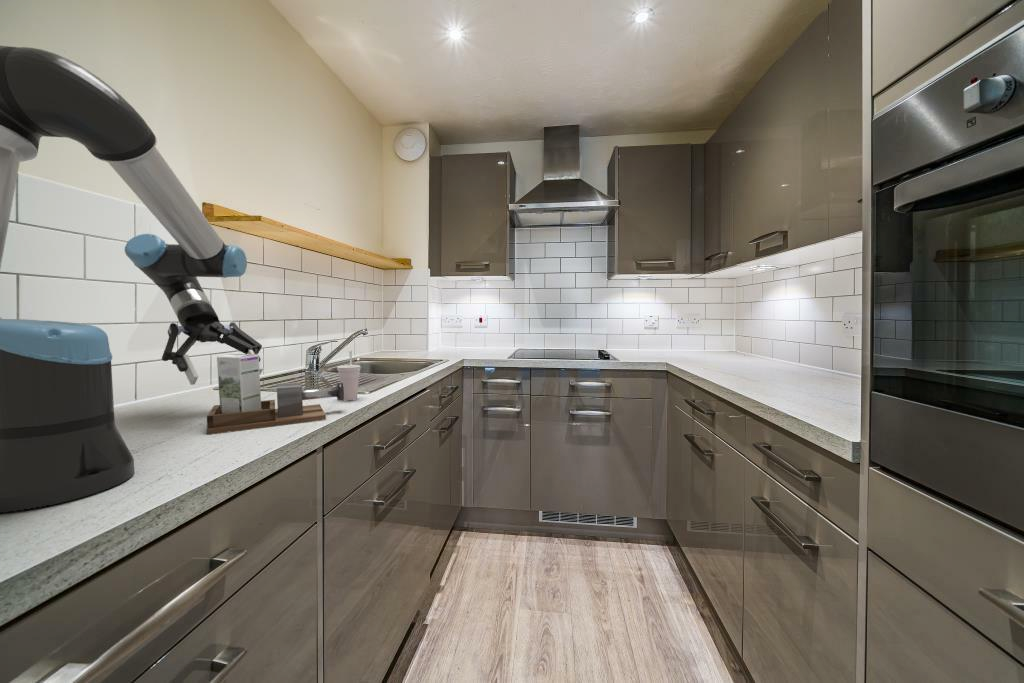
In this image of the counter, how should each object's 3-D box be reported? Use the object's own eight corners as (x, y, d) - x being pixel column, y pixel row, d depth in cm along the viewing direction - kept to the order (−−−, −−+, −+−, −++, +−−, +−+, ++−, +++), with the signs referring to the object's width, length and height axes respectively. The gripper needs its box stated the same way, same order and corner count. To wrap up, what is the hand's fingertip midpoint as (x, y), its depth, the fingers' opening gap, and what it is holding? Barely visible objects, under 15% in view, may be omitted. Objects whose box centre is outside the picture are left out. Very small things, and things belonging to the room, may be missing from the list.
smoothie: (357, 401, 111) (355, 352, 110) (334, 402, 111) (332, 352, 110) (365, 397, 117) (363, 350, 117) (343, 397, 117) (341, 350, 117)
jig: (325, 419, 92) (324, 386, 91) (207, 434, 81) (205, 397, 80) (319, 407, 104) (318, 378, 103) (215, 419, 92) (213, 386, 92)
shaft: (344, 401, 98) (343, 383, 98) (282, 408, 91) (281, 389, 91) (341, 398, 102) (341, 381, 102) (282, 404, 95) (281, 386, 95)
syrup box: (263, 415, 92) (260, 353, 91) (242, 422, 86) (238, 355, 85) (241, 415, 92) (238, 353, 92) (218, 421, 87) (215, 355, 86)
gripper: (244, 321, 111) (277, 379, 105) (125, 323, 90) (157, 396, 83) (253, 302, 108) (287, 360, 102) (132, 299, 87) (166, 372, 80)
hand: (229, 376), depth 93 cm, fingers open, 13 cm apart
